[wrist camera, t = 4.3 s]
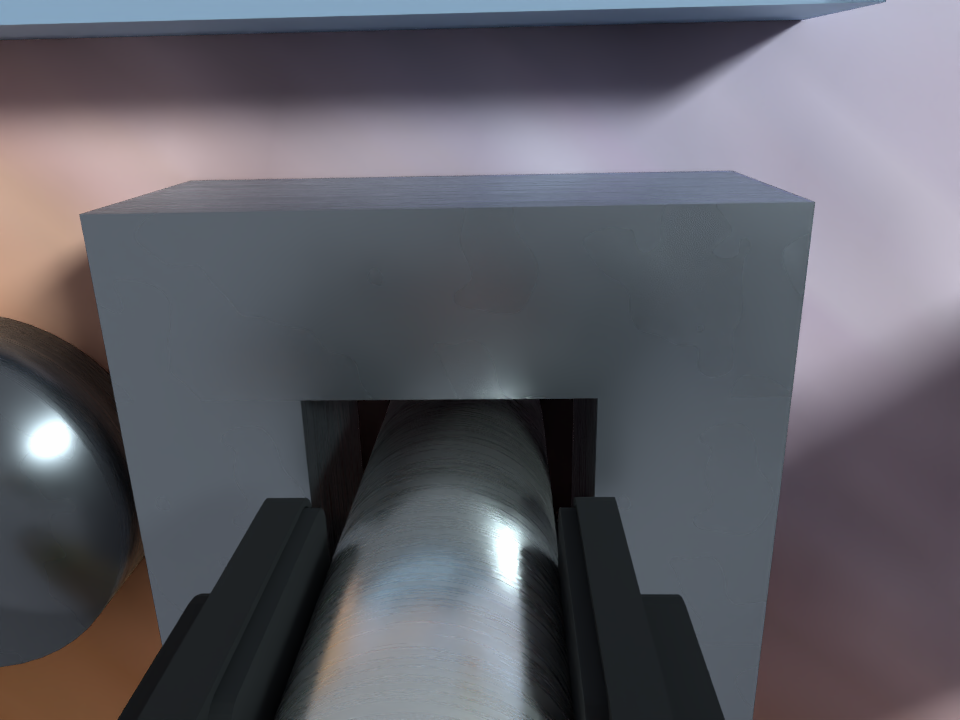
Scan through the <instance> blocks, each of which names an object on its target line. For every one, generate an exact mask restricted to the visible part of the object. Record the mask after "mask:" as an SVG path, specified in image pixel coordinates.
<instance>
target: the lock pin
mask: <svg viewBox="0 0 960 720" xmlns="http://www.w3.org/2000/svg"><path fill="white" fill-rule="evenodd" d="M274 720H574V716H573V706H572V697H571V687H570V678H569V668H568V659H567V650H566V640H565V631H564V621H563V612H562V602H561V593H560V583H559V574H558V548H557V539H556V530H555V521H554V512H553V503H552V494H551V484H550V475H549V466H548V457H547V448H546V439H545V430H544V421H543V413H542V408H541V404H540V401H539V399H439V400H391V401H390V404H389V407H388V409H387V412H386V415H385V417H384V420H383V423H382V426H381V428H380V431H379V434H378V437H377V439H376V442H375V445H374V447H373V450H372V453H371V456H370V458H369V461H368V464H367V467H366V469H365V472H364V475H363V477H362V480H361V483H360V486H359V488H358V491H357V494H356V497H355V499H354V502H353V505H352V507H351V510H350V513H349V516H348V518H347V521H346V524H345V527H344V529H343V532H342V535H341V538H340V540H339V543H338V546H337V548H336V551H335V554H334V557H333V559H332V562H331V565H330V568H329V570H328V573H327V576H326V578H325V581H324V584H323V587H322V589H321V592H320V595H319V598H318V600H317V603H316V606H315V608H314V611H313V614H312V617H311V619H310V622H309V625H308V628H307V630H306V633H305V636H304V638H303V641H302V644H301V647H300V649H299V652H298V655H297V658H296V660H295V663H294V666H293V668H292V671H291V674H290V677H289V679H288V682H287V685H286V688H285V690H284V693H283V696H282V699H281V701H280V704H279V707H278V709H277V712H276V715H275V718H274Z"/></svg>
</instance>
